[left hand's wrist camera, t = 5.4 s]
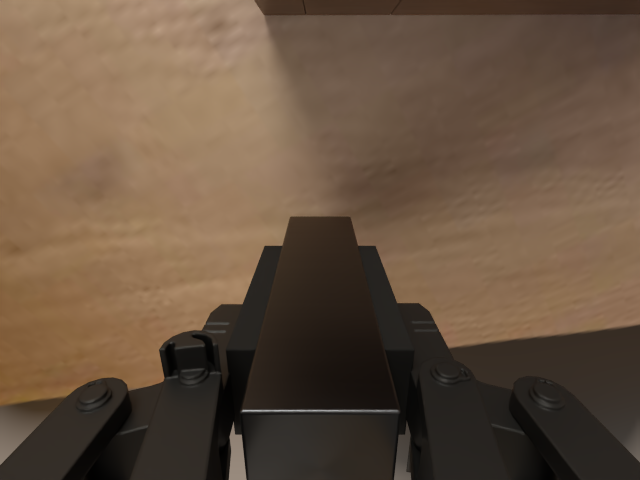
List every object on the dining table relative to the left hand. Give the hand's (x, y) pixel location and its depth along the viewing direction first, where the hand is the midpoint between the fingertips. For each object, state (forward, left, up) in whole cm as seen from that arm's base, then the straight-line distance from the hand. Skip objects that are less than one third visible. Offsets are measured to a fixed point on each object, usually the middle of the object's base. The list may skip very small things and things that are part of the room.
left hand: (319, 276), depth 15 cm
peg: (0, 0, -4) cm, 4 cm away
